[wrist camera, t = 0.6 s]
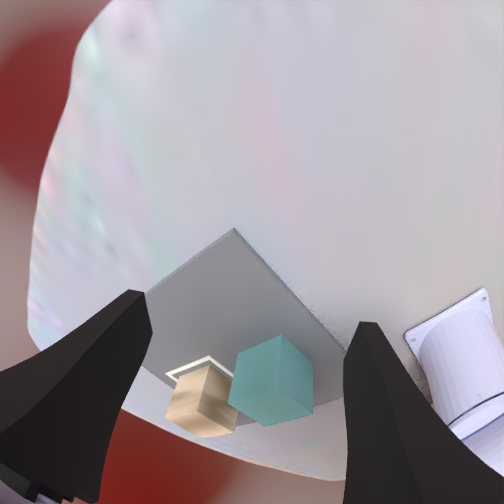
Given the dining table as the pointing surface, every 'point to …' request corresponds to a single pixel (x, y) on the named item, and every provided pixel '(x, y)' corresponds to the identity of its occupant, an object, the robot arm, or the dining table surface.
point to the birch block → (203, 403)
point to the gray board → (233, 319)
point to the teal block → (273, 382)
